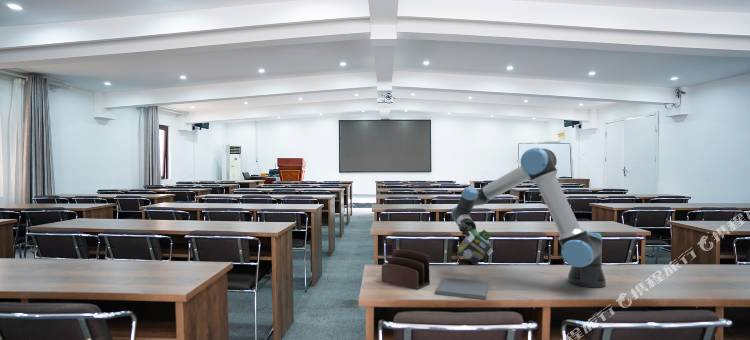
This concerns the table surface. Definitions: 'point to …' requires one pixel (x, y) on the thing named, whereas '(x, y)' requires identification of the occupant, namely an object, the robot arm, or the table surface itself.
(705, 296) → the table surface
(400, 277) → the letter holder
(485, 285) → the mat
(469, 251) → the chalk box
